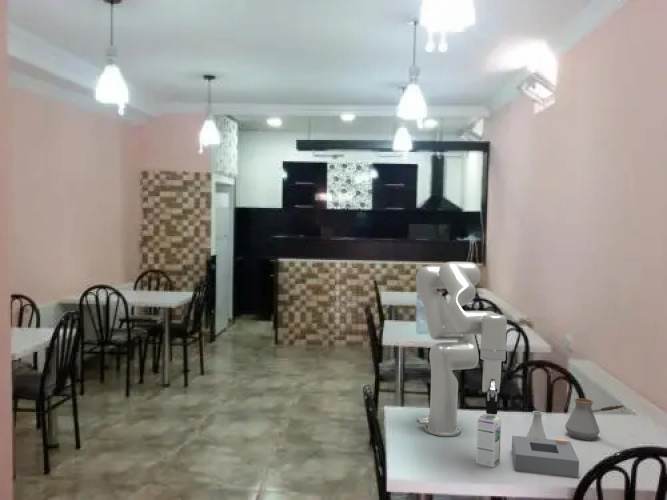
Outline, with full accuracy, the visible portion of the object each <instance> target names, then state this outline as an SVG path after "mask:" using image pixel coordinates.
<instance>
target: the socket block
mask: <svg viewBox="0 0 667 500" xmlns="http://www.w3.org/2000/svg"><path fill="white" fill-rule="evenodd" d="M511 455H512V459H513V460H512V461H513V466H514V471H515V472H522V471H523V473H532V474H540V475H549V476H559V477H567V478H568V477H569V478H577V479H578V478H579V475H580V474H579V473H580V470H579V469H580V460H579V458H578V455H577V454H576V451H575V449H574V447H573V445H572V442H571V441H569V440H567V439H565V438H555V439H551V438H550V439H549V438H546V439H541V438H531V437H527V436H519V435H512V439H511Z"/></svg>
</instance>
